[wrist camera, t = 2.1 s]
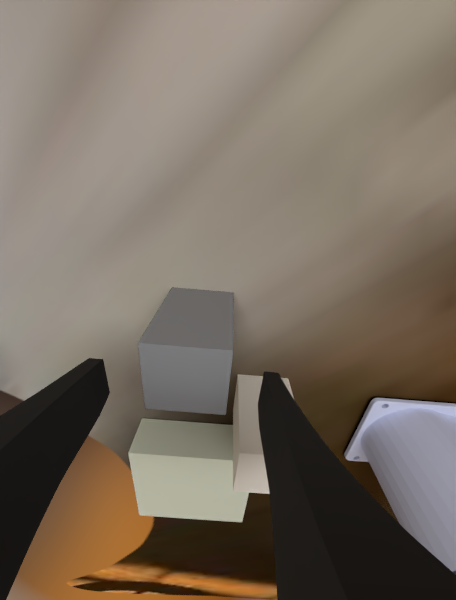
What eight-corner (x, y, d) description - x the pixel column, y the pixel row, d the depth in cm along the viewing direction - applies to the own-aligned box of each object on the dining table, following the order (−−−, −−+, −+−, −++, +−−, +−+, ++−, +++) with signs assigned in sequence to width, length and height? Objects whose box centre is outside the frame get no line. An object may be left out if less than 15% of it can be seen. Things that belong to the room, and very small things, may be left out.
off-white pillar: (288, 378, 18) (311, 458, 13) (278, 412, 20) (295, 495, 15) (237, 374, 18) (239, 452, 13) (233, 409, 20) (232, 491, 14)
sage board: (253, 426, 21) (256, 462, 18) (241, 486, 25) (242, 522, 22) (142, 418, 21) (128, 452, 18) (149, 479, 25) (139, 515, 22)
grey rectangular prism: (233, 292, 15) (233, 350, 10) (228, 342, 17) (225, 415, 11) (172, 287, 15) (137, 343, 10) (173, 337, 17) (145, 408, 11)
